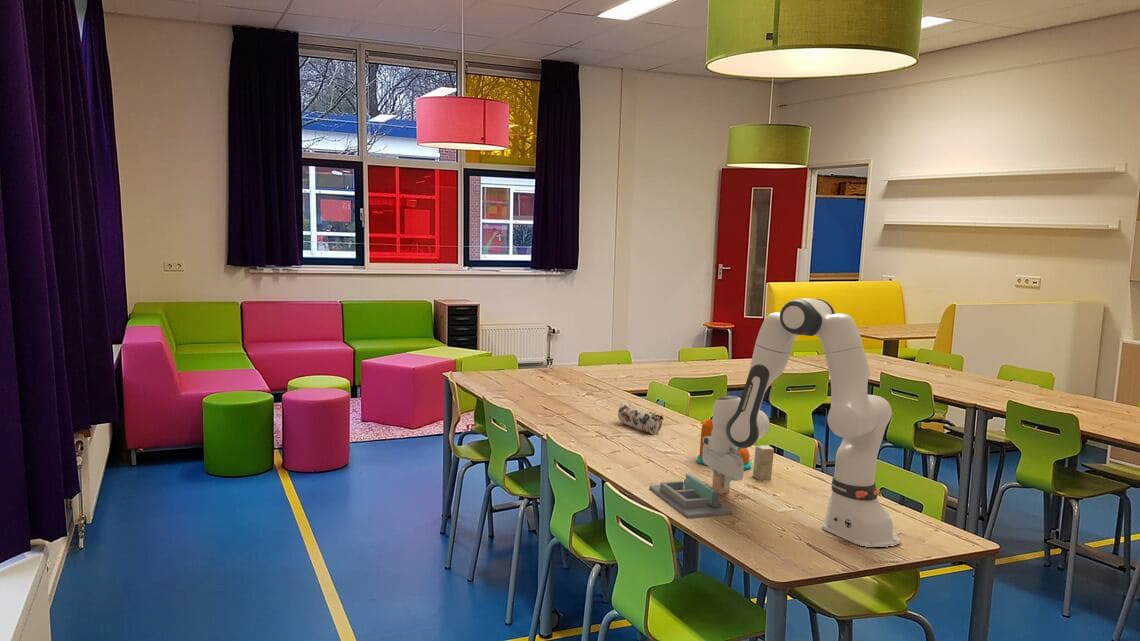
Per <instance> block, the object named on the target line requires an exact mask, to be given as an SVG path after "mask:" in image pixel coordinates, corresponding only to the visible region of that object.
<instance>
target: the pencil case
mask: <svg viewBox="0 0 1140 641" xmlns="http://www.w3.org/2000/svg"><path fill="white" fill-rule="evenodd" d="M617 410H618V411H617V419H618V420H619V421H620V422H621V424H624V425H626V426H628V427H630V428H633V429H637V430H639V431H642V432H645V433H649V434H652V435H658V434H659V432H660V430H661V429H662V426H663V421H664V420H665V419H664V416H663V415H660V414H659V413H657V412H656V411H654V412H653V411H652V410H651V411H647V410H646V409H645V410H644V409H641V408H637V407H634V406H631V404H629V403H627V402H623V403H621V404H620V407H619V408H618V409H617Z"/></svg>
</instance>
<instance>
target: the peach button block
mask: <svg viewBox="0 0 1140 641" xmlns="http://www.w3.org/2000/svg"><path fill="white" fill-rule="evenodd" d="M724 481H725V478H724V475H723V474H721V473H718V474H716V475H713V474H712V487H711V488H712V489H713V490H715V491H716V492H719V493H720V494H727V493H730V487H731V486H730V485H731V482H730V483H729V488H728V489H725V488H723V487H722V482H724Z"/></svg>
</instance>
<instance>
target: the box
mask: <svg viewBox="0 0 1140 641" xmlns="http://www.w3.org/2000/svg"><path fill="white" fill-rule="evenodd" d="M774 452H775V448H773V447H771V446H770V445H755V450H754V460H753V471H752V476H753V477H754V478H756V479H757V480H772V473H773V465H774V464H773V462H774V456H775V455H774Z"/></svg>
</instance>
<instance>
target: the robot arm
mask: <svg viewBox="0 0 1140 641" xmlns="http://www.w3.org/2000/svg"><path fill="white" fill-rule="evenodd" d="M798 336H807V337H809V336H810V337H813V336H816V337H817V338H818V339H819V340H820V342H821V345H822V348H823V352H824V357H825V361H826V365H827V369H828V375H829V380H830V390H831V391H830V398H831V399H830V408H829V411H828V414H827V425H828V428H829V429H830V431H831V432H832V433H833V434H834V435H835V436H836V437H840V438H842V441H841V444H840V446H839V447H837V450H836V456H835V463H834V466H835V467H834V475H833V477H832V480H831V490H832V492H831V496H830V498H829V500H828V505H827V510H826V513H825V519H824V521H823V523H822V526H821V529H822V530H824V531H826V532H829V533H831V534H833V535H835V536H837V537H840V538H841V539H844V540H845V541H849V542H850V543H853V544H855V545H857V544H858V545H857V546H859V545H860V546H859V547H861V546H866V547H886V548H889V547H888V546H891V545H895V544H898V543H900V542H901V543H902V539H901V538H900V537H898V536H897V535H896V534H895V533H894V527H893V526H894V524H893V520H892V518H891V516H890V514H889V513H888V512H887V511H886V509H885V508H884V506H883V505H882V504H881V502H880V501H879V499H878V495H880V494H881V493H880V492H881V490H878V489H877V485H876V482H875V477H876V467H877V459H878V454H879V451H880V447H881V444H882V442H883V439H884V435H885V431H886V429H887V427H888V424H889V422H890V420H891V419H892V416H893V410H892V407H891V404H890V402H888V400H886V398H884V397H882V396H880V395H879V396H878V395H875V394H868V390H869V388H868V387H869V386H868V385H869V384H868V383H869V378H870V375H871V374H870V373H871V371H870V366H869V363H868V360H867V355H866V351H865V346H864V343H863V339H862V336H861V334H860V331H859V329H858V327H857V325H856V322H855V321H854V318H853V317H852V316H851V315H849V314H848V313H842V312H841V313H840V312H837V313H836V312H835V309H834V307H833V306H832V305H831V304H830V303H829V302H827V301H826V300H823V299H820V298H816V299H815V298H811V297H804V298H794V299H793V300H790V301H789V302H787V303H785V304H784V306H783V307H782V308H781V310H780V312H778V311H777V312H771V313H769V314H768V315H766V317H765V319H764V320H763V322H762V324H761V326H760V328H759V331H758V335H757V337H756V340H755V344H754V347H753V353H752V357H751V361H750V366H749V369H748V375H747V378H746V382H745V384H744V388H743V391H742V394H741V396H740V397H741V398H740V397H739V396H737V395H732V394H731V395H723V396H721V397H718V398H717V399H716V400H715V402H714V405H713V410H712V418H711V419H712V423H713V430H712V432H711V436H708V437H703V443H704V445H703V454H702V459H703V462H704V463H705V464H706V465H705V466H708V467H710V468H711V472H712V476H713V475H716V474H718V473H721V474H723V475H724V478H725V481H724V482H722V487H723V488H725V489H728V488H729V483H730V484H731V482H738V481H743V479H744V474H745V473H744V471H745V470H744V464H743V459H742V457H741V455H740V453H739V452H738V447H740V448H747V449H748V448H750V447H752V446H754V444H755V443H756V442H757V441H760V439H762V438H763V437H764V436H765V435H767V433H768V432H769V431H770V427H771V422H770V421H771V420H770V418H769V416H768V415H767V413H766V412H764V411H763V410H761V406H762V403H763V400H764V397H765V394H766V393H767V390H768V389H769V387H771V384H772V383H773V382H774V381H775V380H776V379H777V378H778V377H780V375H782V374H783V373H784V370H785V368H786V367H787V365H788V362H789V360H790V358H791V353H792V351H793V350H792V349H793V345H794V343H795V342H794V341H796V339H797V337H798ZM729 489H730V488H729ZM901 543H900V544H901ZM866 547H865V548H866Z"/></svg>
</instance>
